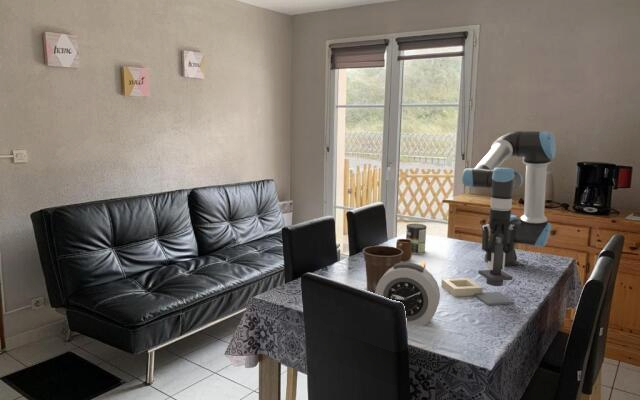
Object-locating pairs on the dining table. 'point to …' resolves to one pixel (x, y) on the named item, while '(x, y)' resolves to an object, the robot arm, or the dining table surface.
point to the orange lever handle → (423, 264)
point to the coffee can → (417, 237)
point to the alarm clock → (411, 291)
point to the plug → (496, 267)
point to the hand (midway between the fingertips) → (495, 268)
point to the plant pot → (379, 263)
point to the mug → (405, 248)
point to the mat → (493, 298)
